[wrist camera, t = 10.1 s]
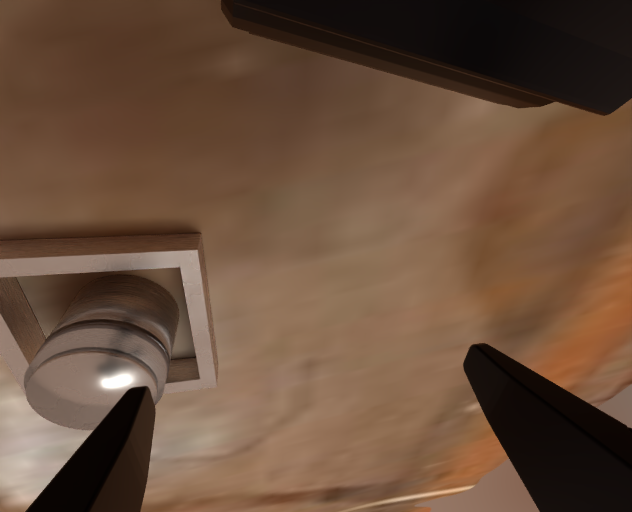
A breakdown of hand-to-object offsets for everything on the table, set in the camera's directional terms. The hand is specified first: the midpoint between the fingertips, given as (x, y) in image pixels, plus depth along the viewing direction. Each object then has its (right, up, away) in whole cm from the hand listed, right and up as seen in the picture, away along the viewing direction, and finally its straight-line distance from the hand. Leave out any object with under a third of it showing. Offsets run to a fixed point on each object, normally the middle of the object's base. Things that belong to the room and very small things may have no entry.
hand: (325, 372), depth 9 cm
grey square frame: (-13, -1, +12) cm, 17 cm away
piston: (-12, -1, +12) cm, 17 cm away
